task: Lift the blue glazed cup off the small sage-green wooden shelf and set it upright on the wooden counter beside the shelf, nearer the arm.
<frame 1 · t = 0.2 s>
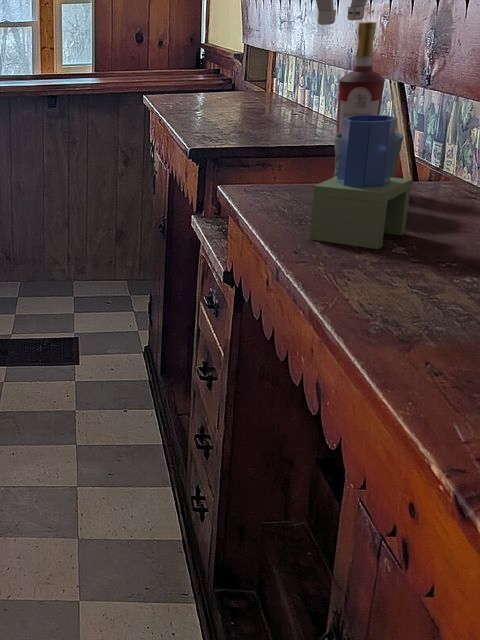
hand: (341, 22, 119), 30 cm above the worktop, tool pointing down, fingers open, 8 cm apart
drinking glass: (360, 210, 142), on the worktop
cup: (363, 182, 124), point 8 cm above the worktop, touching shelf
liquor: (350, 189, 156), on the worktop
shelf: (357, 236, 127), on the worktop
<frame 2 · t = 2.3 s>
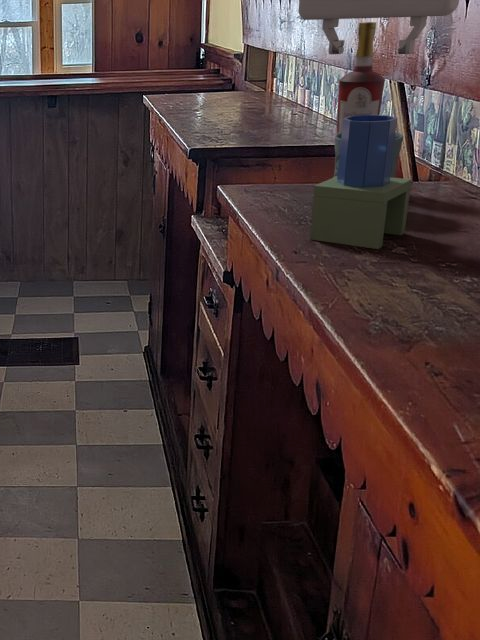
hand: (369, 54, 118), 26 cm above the worktop, tool pointing down, fingers open, 8 cm apart
nothing on the worktop moved.
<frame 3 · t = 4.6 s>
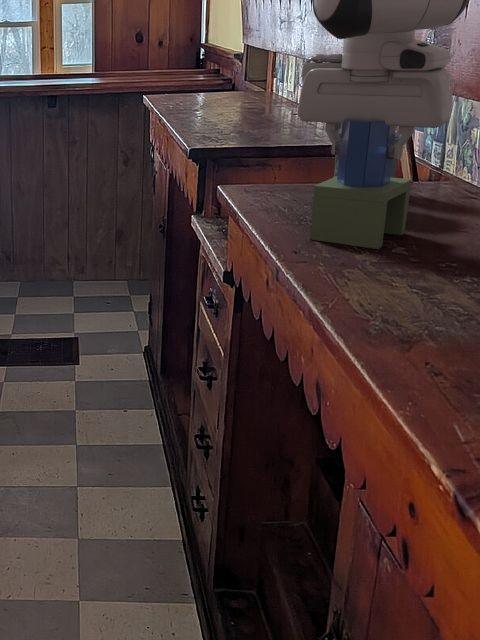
hand: (365, 156, 123), 12 cm above the worktop, tool pointing down, fingers closed on cup, 6 cm apart
cup: (363, 182, 124), point 8 cm above the worktop, touching gripper, shelf
everything else where it was.
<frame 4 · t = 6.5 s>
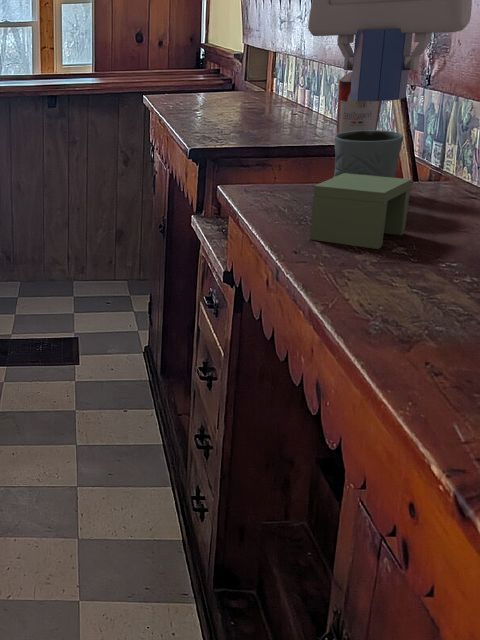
hand: (380, 70, 117), 24 cm above the worktop, tool pointing down, fingers closed on cup, 6 cm apart
cup: (377, 98, 119), point 20 cm above the worktop, touching gripper
everything else where it was.
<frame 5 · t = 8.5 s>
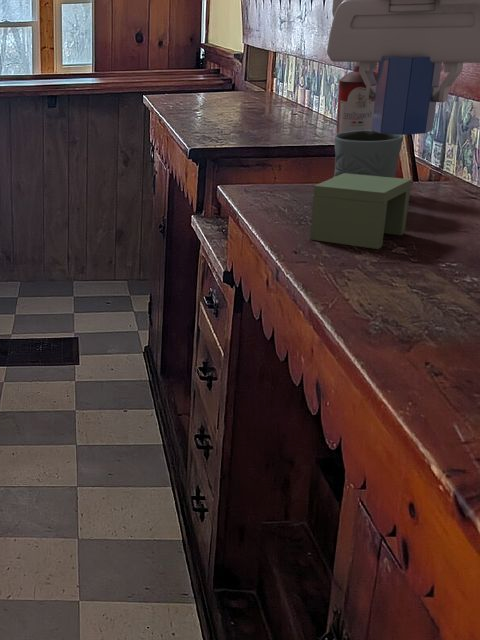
hand: (405, 100, 108), 21 cm above the worktop, tool pointing down, fingers closed on cup, 6 cm apart
cup: (401, 130, 109), point 17 cm above the worktop, touching gripper
everything else where it was.
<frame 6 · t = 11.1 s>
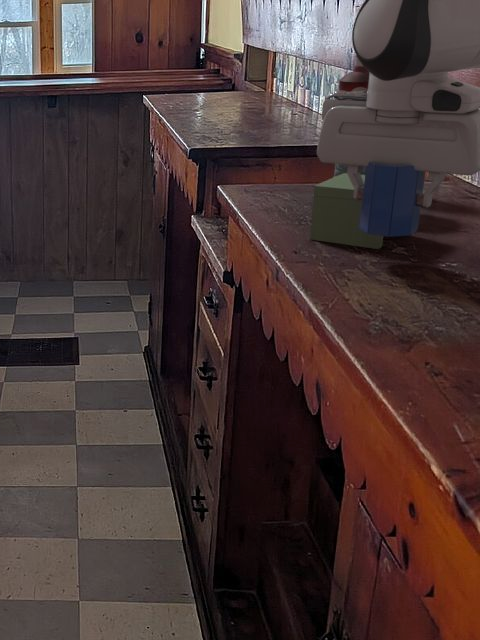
hand: (391, 202, 113), 8 cm above the worktop, tool pointing down, fingers closed on cup, 6 cm apart
cup: (387, 229, 114), point 4 cm above the worktop, touching gripper
everything else where it was.
when the fingers open (3 cm above the worktop, at t = 12.8 s): cup stays where it is, on the worktop.
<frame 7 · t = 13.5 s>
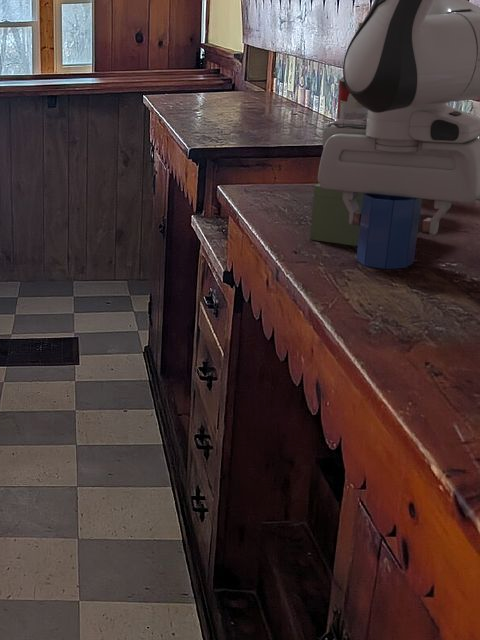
hand: (391, 228, 114), 4 cm above the worktop, tool pointing down, fingers open, 8 cm apart
cup: (384, 261, 116), on the worktop
everything else where it was.
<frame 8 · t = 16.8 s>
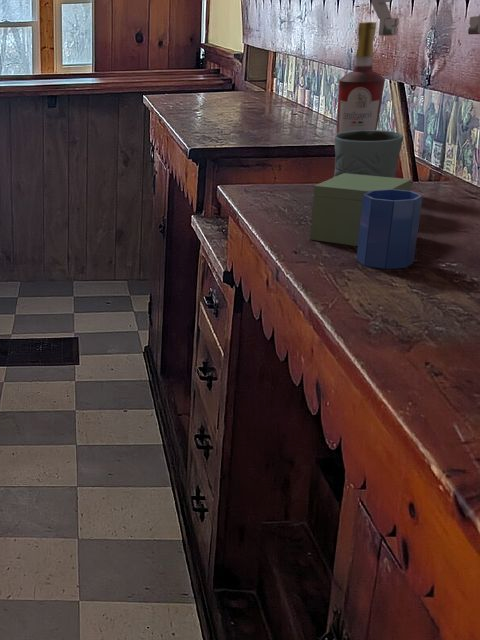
hand: (431, 34, 95), 29 cm above the worktop, tool pointing down, fingers open, 8 cm apart
nothing on the worktop moved.
at the end: cup inside the target area (0.2 cm from its centre), on the worktop; cup tilted 0°; cup touching worktop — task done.
